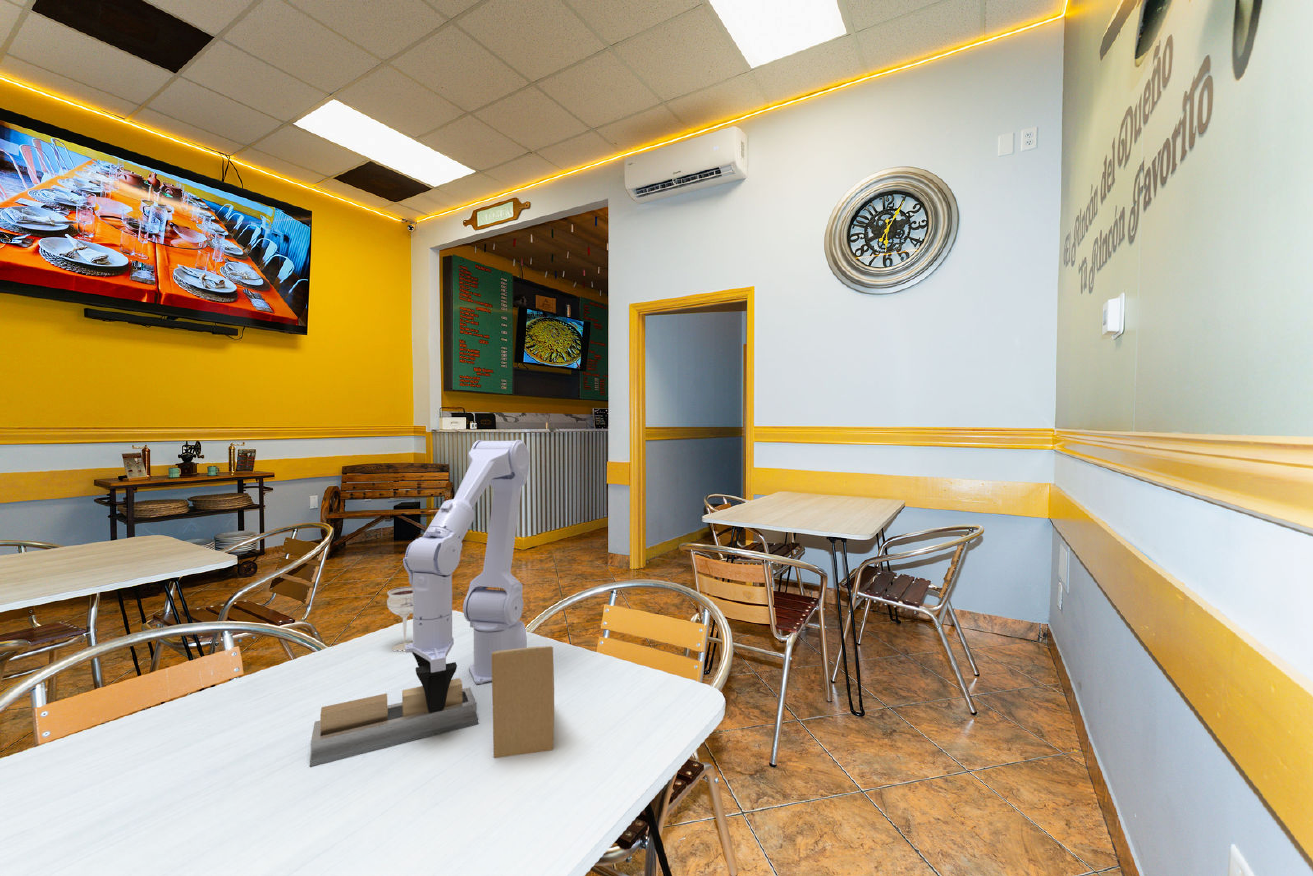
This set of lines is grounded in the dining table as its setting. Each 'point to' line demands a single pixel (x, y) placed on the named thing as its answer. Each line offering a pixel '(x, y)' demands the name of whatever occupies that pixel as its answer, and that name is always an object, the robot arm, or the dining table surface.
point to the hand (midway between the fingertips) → (433, 700)
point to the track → (381, 726)
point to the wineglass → (401, 608)
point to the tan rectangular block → (417, 702)
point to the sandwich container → (523, 701)
